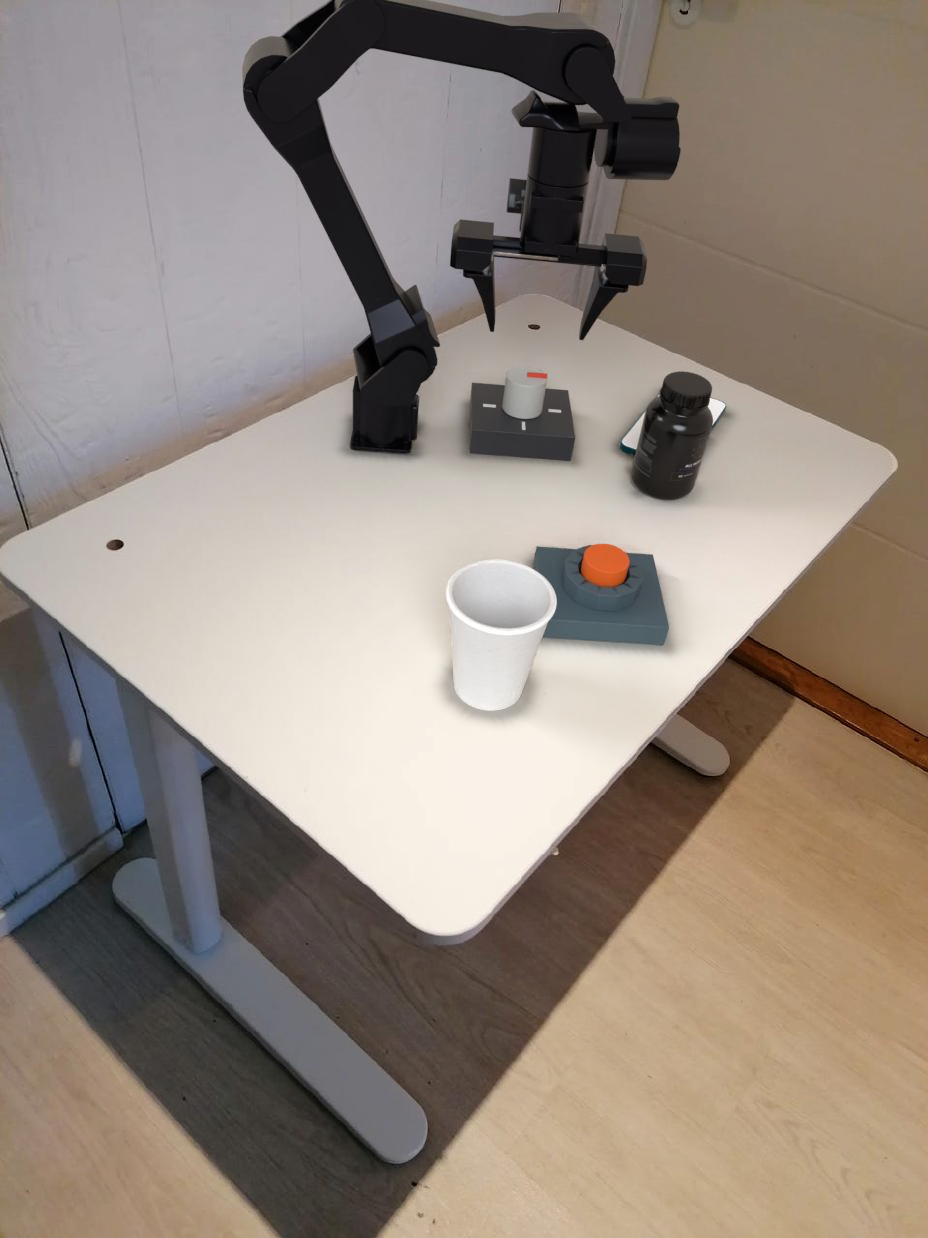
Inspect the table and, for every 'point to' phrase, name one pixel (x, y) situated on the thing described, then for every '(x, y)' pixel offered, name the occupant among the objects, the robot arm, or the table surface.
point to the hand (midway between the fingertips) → (536, 334)
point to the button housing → (603, 600)
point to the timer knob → (524, 392)
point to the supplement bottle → (673, 437)
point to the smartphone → (632, 436)
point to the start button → (605, 565)
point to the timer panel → (520, 426)
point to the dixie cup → (496, 629)
